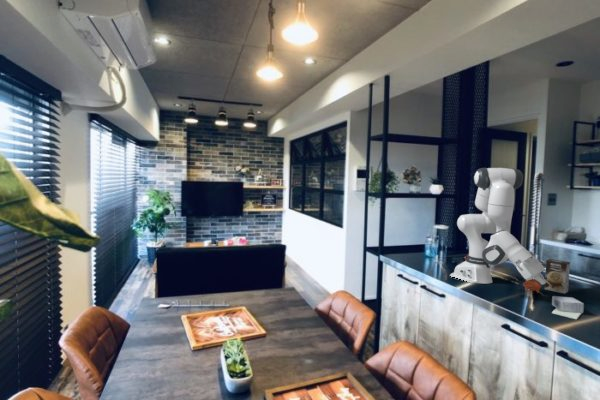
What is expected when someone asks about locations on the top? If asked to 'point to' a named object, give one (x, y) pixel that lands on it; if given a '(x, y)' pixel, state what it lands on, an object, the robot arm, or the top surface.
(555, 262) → the coffee box
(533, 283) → the pot
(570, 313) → the sage mat
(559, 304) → the medicine box
